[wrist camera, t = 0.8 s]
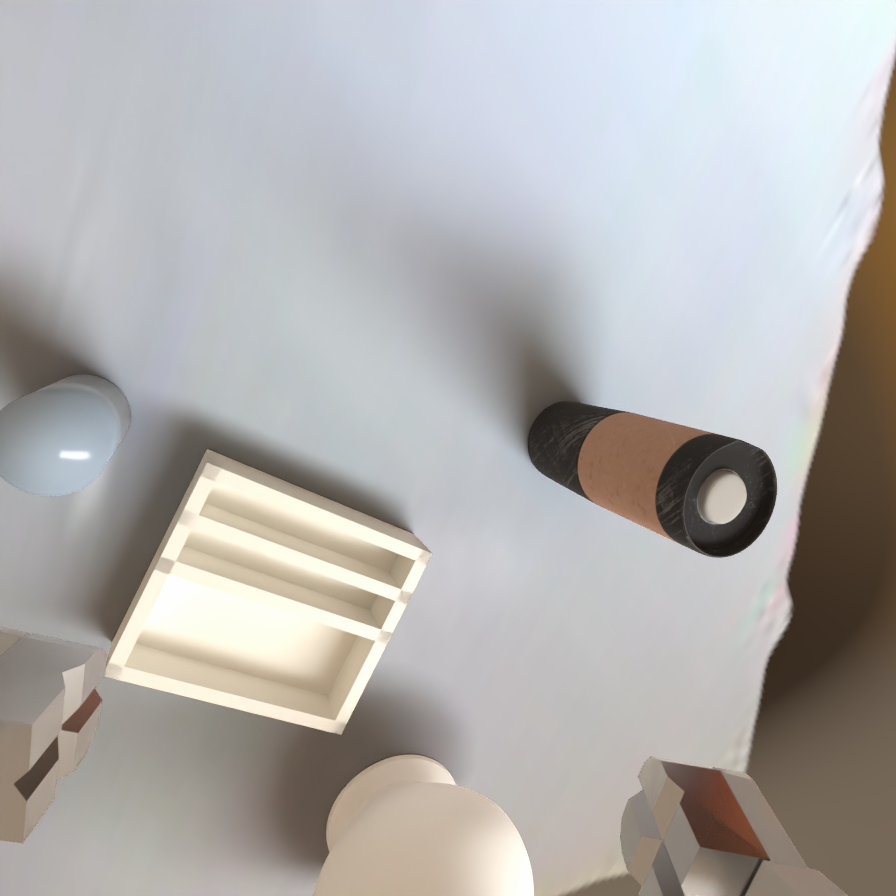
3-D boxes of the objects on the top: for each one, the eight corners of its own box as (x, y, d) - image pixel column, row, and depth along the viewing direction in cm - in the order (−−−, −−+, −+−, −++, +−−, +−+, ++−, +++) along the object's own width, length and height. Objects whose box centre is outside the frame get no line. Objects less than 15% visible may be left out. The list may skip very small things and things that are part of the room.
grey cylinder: (61, 360, 42) (14, 375, 32) (144, 396, 44) (126, 420, 34) (25, 434, 42) (-33, 472, 32) (110, 466, 44) (82, 511, 34)
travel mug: (542, 496, 57) (700, 582, 39) (512, 423, 55) (665, 478, 36) (609, 456, 59) (790, 520, 41) (583, 383, 56) (763, 417, 38)
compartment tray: (207, 448, 46) (206, 462, 42) (414, 534, 53) (432, 553, 49) (111, 642, 47) (102, 675, 42) (330, 701, 54) (341, 734, 49)
